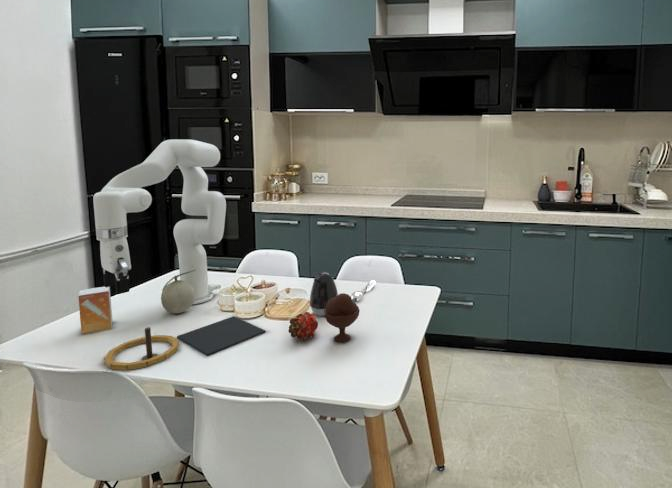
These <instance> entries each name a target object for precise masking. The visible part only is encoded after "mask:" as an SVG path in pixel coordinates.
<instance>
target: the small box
mask: <svg viewBox="0 0 672 488" xmlns="http://www.w3.org/2000/svg"><path fill="white" fill-rule="evenodd" d="M77 297H78V307H79V308H78V310H79V321H80V332H81V335H85V334H89V333H94V332H99V331H105V330H111V329H112V328H113V312H112V311H113V310H112V298H111V286H110V287H104V286H100V287H99V286H98V287H92V288H86V289H80V290H79V292H78V296H77Z"/></svg>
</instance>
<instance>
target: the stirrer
mask: <svg viewBox="0 0 672 488" xmlns="http://www.w3.org/2000/svg"><path fill="white" fill-rule="evenodd" d="M376 283H377V282H376V281H375V280H370V281H368V282H367V284H366V286H365V289H364V290H362V291H360V290H357V291H354V292H353V293H351V295H350V297H351V298H352V302H354V303H357V302H359V301H360V300H361V299H362V298H363V296H364V293H367V292H370V291H371V290H372V289H373V288H374V287H375V286H376Z"/></svg>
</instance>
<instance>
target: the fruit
mask: <svg viewBox="0 0 672 488" xmlns="http://www.w3.org/2000/svg"><path fill="white" fill-rule="evenodd" d="M193 271H195V270H193ZM193 271H189V272H186V273H182V274H180V273H179V274H177V275H174V276H173V277H172V278H170V279H169V280H168V281H167V282H166V283H165V285H164V286H163V288H162V289H161V291H162V292H161V293H160V294H161V295H160V302H161V305H162V307H163V308H164V309H163V310H165V311H166V312H168V313H171V314H174V315H175V314H181V313H184V312H187V311H189V309H190V308H191V307H192V304H193V301H194V296H195V294H194V289H193V287H192V286H191V284H189V283H188V282H187V281H183V280H180V279H178V278H180V276H181V275H184V274H187V273H190V272H193ZM173 280H174V281H173ZM193 305H194V304H193Z"/></svg>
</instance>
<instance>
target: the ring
mask: <svg viewBox="0 0 672 488" xmlns="http://www.w3.org/2000/svg"><path fill="white" fill-rule="evenodd" d="M151 341H152V343H153V342H161V343H163V342H164V343H169V344H171V347H170V348H169V349H167V350H165V351H164V352H163V353H161V354H158V356H155V357H153V358H150V359H147V360H143V361H142V360H137V361H132V362H123V361H121V362H120V361H115V360H114V358H115V356H116V355H118V354H120V353H121V352H122V351H124V350H126V349H129V348H132V347H135V346H137V345H141V344H146V340H145V336H142V337H140V338H139V337H138V338H135V339H132V340H129V341H126V342H123V343H120V344H119V345H117V346H115V347H113V348H112V349H110V350H109V351H108V352H107V353H106V355H105V357H104V359H103V360H104V365H105V366H107V368H109V369H110V370H116V371H119V370H120V371H131V370H135V369H136V370H137V369H141V368H147V367H150V366H152V365H156V364H158V363H160V362H163V361H165V360H167V359H169V358H170V357H171V356H173V355H174V354H176V353H177V351H178V349H179V345H180V343H179V341H180V340H179V339H178V338H177V337H174V336H173V335H164V334H154V335H151Z"/></svg>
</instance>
